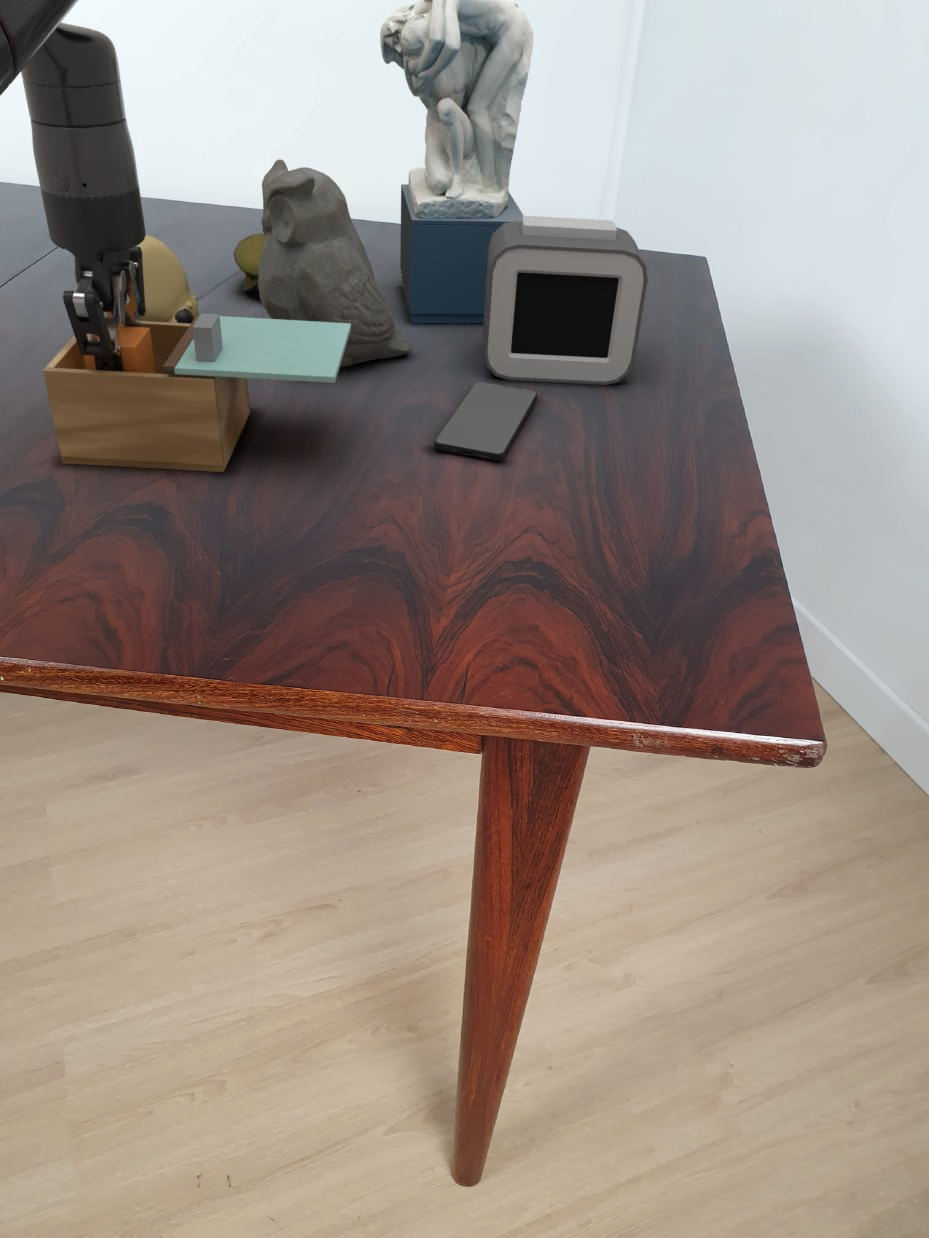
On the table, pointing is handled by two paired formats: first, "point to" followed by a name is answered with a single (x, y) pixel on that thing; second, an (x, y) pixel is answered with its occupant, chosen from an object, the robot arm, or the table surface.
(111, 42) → the robot arm
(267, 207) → the figurine
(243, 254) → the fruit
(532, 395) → the smartphone
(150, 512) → the table surface
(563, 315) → the alarm clock
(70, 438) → the maple box
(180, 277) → the toy pig
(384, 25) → the sculpture
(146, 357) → the block
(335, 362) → the mint sliding box lid
